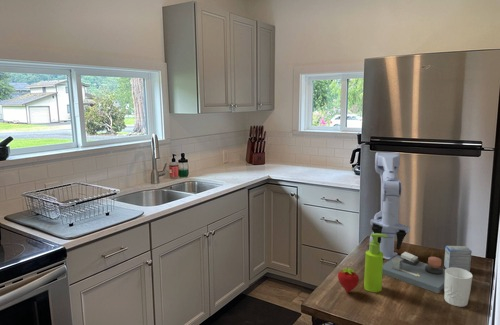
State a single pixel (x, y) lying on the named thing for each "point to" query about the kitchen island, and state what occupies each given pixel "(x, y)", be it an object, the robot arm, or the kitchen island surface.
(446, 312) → the kitchen island surface
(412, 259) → the rocker switch
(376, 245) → the soap dispenser
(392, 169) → the robot arm
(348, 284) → the strawberry
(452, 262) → the medicine box
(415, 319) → the kitchen island surface
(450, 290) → the white cup
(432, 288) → the panel
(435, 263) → the push button
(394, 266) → the slider knob
